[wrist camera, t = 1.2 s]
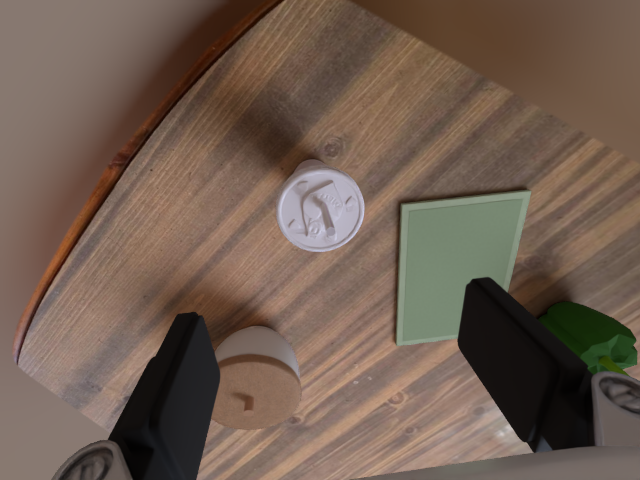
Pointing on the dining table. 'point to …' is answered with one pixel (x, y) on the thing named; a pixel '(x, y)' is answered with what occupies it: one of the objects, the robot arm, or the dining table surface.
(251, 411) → the trinket box
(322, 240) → the smoothie
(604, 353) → the bell pepper
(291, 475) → the dining table surface
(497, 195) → the placemat
